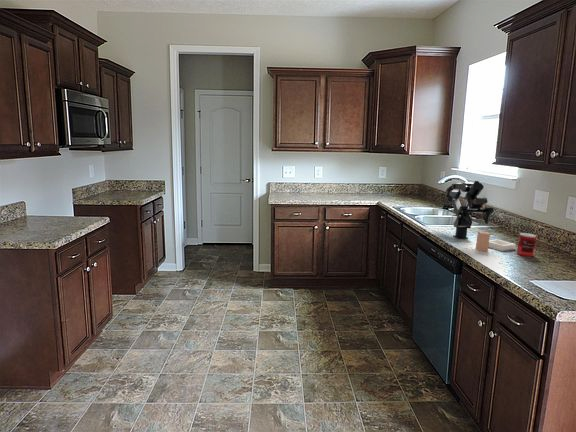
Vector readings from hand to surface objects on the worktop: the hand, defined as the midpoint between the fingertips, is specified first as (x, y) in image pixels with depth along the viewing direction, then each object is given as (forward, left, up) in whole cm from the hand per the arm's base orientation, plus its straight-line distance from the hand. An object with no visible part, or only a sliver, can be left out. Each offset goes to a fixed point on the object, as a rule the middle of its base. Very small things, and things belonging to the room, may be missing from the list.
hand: (478, 223), depth 232 cm
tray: (+4, +12, -13) cm, 18 cm away
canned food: (+18, +16, -13) cm, 28 cm away
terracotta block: (+7, -2, -13) cm, 15 cm away
